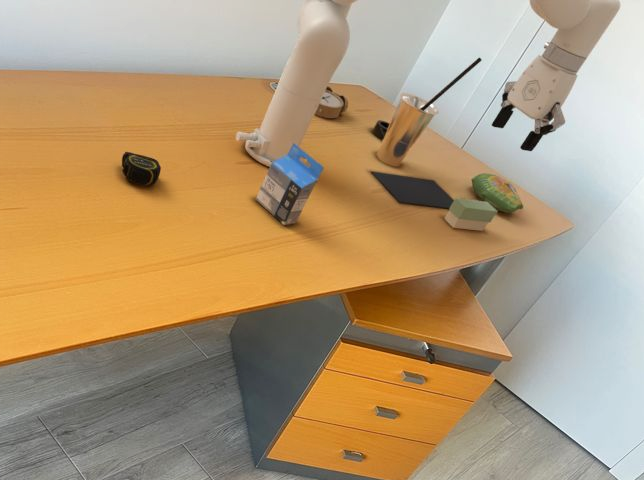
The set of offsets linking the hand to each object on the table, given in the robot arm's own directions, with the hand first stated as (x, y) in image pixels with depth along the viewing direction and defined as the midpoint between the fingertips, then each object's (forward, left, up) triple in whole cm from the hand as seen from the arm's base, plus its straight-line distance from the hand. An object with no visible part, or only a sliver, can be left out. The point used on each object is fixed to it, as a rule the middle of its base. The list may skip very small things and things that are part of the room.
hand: (511, 138), depth 148 cm
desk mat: (-4, +12, -21) cm, 24 cm away
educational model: (+21, +12, -21) cm, 32 cm away
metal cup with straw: (-3, +26, -21) cm, 33 cm away
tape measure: (-79, +3, -21) cm, 82 cm away
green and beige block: (+1, -1, -21) cm, 21 cm away
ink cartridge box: (-52, -4, -21) cm, 56 cm away
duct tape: (+4, +41, -21) cm, 46 cm away
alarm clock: (-10, +52, -21) cm, 57 cm away
